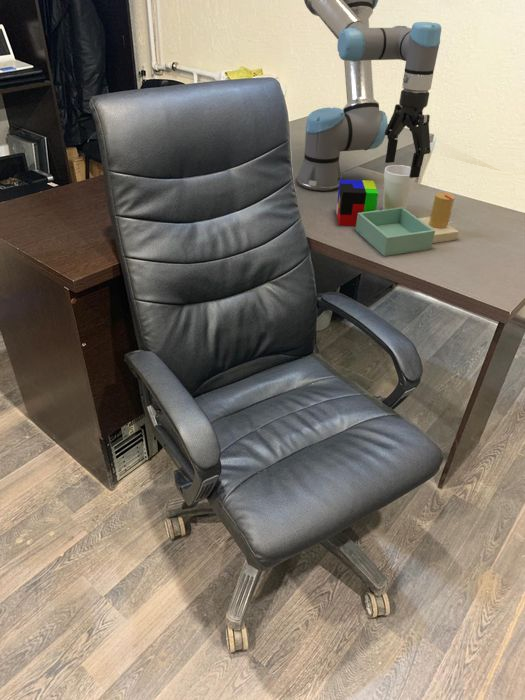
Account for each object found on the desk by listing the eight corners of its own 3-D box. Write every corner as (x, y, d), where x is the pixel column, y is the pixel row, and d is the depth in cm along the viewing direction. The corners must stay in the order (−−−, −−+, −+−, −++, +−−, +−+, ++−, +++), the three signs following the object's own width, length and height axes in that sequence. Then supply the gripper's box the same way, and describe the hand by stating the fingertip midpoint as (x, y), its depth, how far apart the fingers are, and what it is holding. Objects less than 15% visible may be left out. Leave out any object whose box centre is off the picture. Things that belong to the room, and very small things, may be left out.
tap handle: (425, 221, 151) (431, 192, 146) (440, 219, 152) (447, 190, 147) (435, 229, 147) (442, 199, 142) (451, 227, 148) (459, 197, 143)
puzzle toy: (336, 211, 162) (339, 179, 156) (368, 212, 162) (373, 180, 155) (338, 225, 154) (342, 192, 148) (372, 226, 154) (378, 193, 148)
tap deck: (410, 227, 154) (412, 218, 152) (439, 223, 157) (441, 214, 155) (432, 243, 146) (434, 234, 144) (461, 238, 148) (463, 230, 147)
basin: (355, 230, 151) (357, 212, 148) (399, 224, 155) (402, 207, 152) (384, 256, 139) (387, 237, 136) (431, 248, 143) (435, 230, 140)
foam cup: (408, 219, 158) (417, 177, 150) (377, 216, 159) (384, 174, 151) (408, 207, 165) (416, 166, 157) (378, 204, 167) (385, 163, 159)
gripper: (380, 81, 149) (369, 157, 162) (430, 101, 131) (413, 185, 144) (403, 80, 151) (390, 155, 164) (455, 99, 133) (436, 182, 146)
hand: (401, 169), depth 154 cm, fingers open, 13 cm apart
